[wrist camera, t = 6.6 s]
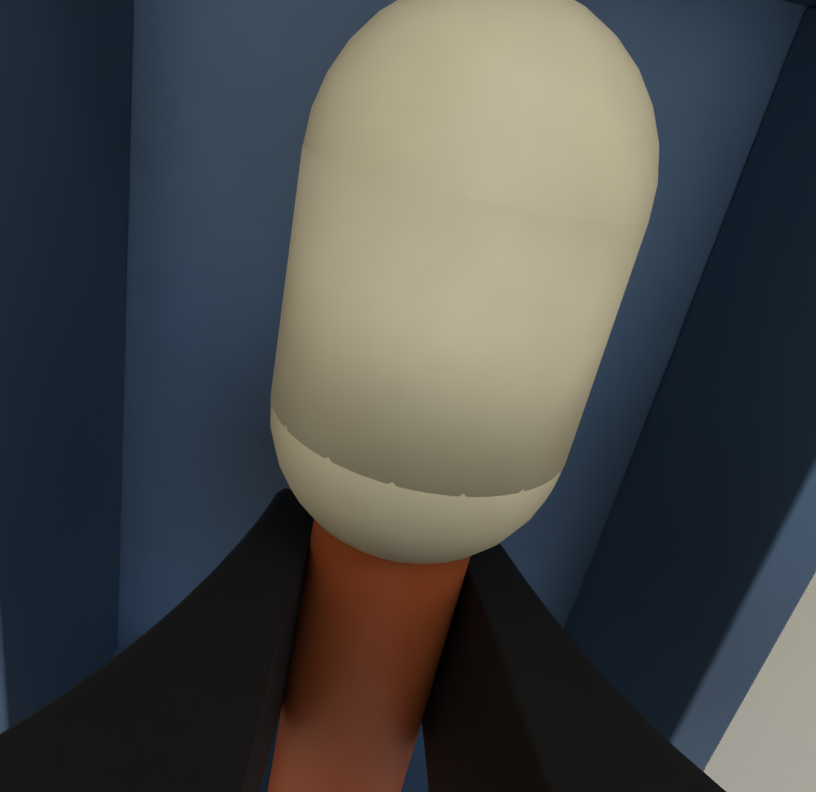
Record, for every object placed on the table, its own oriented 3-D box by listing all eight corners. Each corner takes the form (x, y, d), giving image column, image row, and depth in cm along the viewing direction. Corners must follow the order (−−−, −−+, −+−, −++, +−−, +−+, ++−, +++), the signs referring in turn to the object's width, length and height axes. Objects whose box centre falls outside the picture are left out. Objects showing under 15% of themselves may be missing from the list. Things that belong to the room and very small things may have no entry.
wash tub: (551, 700, 17) (613, 934, 12) (96, 641, 16) (-31, 874, 11) (844, -31, 11) (1222, -141, 6) (102, -222, 9) (-202, -553, 5)
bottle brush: (420, 757, 12) (428, 976, 9) (239, 735, 12) (186, 954, 9) (638, 40, 8) (807, -1, 4) (343, -31, 7) (306, -126, 4)
